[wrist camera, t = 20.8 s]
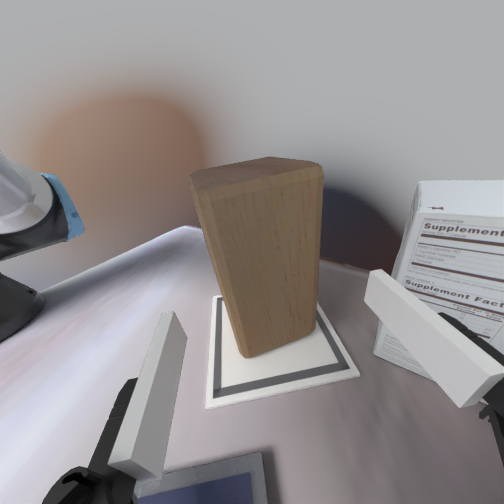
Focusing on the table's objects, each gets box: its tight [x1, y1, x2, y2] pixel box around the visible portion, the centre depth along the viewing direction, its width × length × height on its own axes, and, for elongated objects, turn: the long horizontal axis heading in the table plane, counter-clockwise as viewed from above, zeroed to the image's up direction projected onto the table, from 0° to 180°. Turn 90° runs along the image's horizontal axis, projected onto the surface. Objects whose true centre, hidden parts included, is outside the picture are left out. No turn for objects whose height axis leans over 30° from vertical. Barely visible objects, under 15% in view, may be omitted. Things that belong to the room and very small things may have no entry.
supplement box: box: [373, 180, 504, 405], centre depth 18 cm, size 10×9×17 cm
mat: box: [205, 295, 361, 410], centre depth 26 cm, size 16×16×1 cm
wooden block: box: [190, 157, 324, 358], centre depth 22 cm, size 10×10×20 cm
